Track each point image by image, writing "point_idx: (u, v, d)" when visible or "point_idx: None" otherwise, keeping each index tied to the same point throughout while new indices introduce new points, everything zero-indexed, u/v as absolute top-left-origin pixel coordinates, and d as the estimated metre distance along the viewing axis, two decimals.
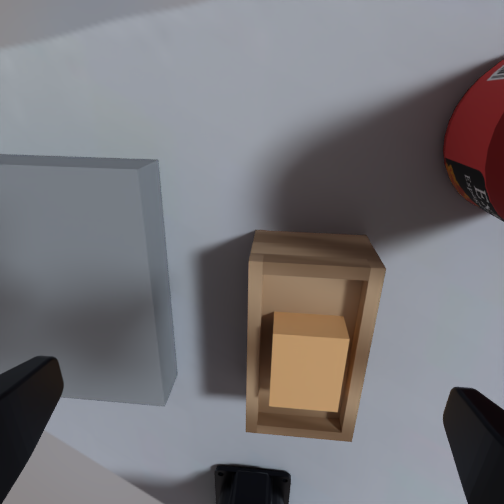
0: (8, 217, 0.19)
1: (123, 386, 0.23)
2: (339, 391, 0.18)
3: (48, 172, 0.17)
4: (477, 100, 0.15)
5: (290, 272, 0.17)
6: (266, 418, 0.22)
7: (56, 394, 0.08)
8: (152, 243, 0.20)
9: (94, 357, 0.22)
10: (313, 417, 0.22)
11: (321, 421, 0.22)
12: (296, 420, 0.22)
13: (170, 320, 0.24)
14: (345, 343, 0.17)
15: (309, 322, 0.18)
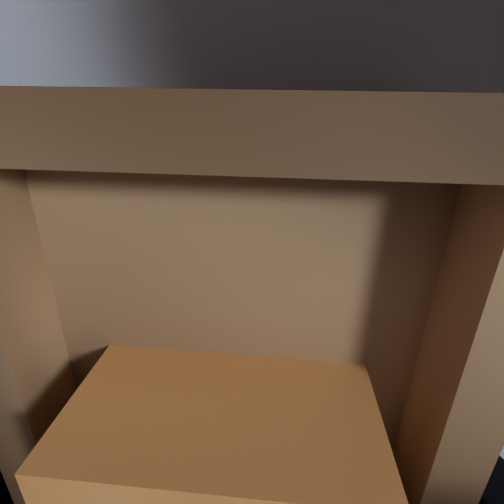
0: None
1: None
2: None
3: None
4: None
5: (81, 148, 0.03)
6: None
7: None
8: None
9: None
10: None
11: None
12: None
13: None
14: None
15: (224, 396, 0.04)
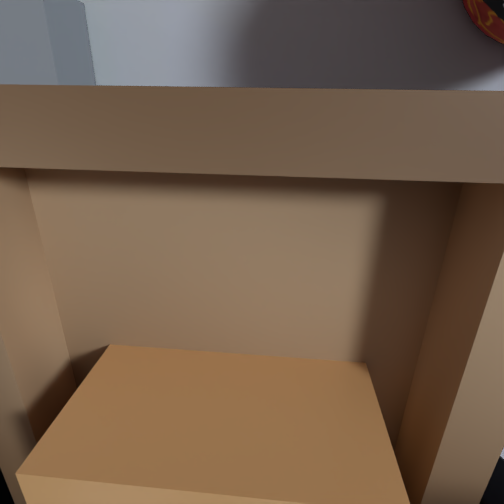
0: None
1: None
2: None
3: None
4: None
5: (82, 146, 0.03)
6: None
7: None
8: None
9: None
10: None
11: None
12: None
13: None
14: None
15: (225, 395, 0.04)
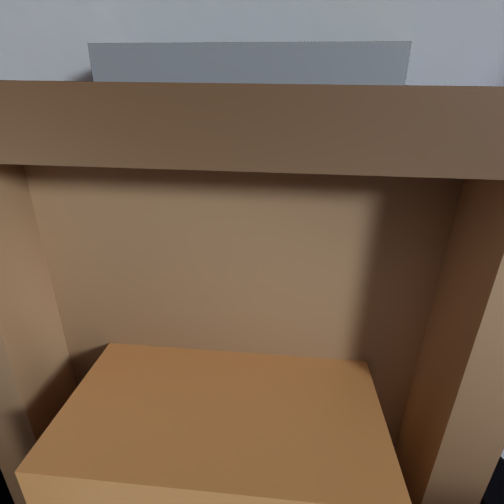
0: None
1: None
2: None
3: (278, 51, 0.13)
4: None
5: (82, 143, 0.03)
6: None
7: None
8: None
9: None
10: None
11: None
12: None
13: None
14: None
15: (225, 393, 0.04)
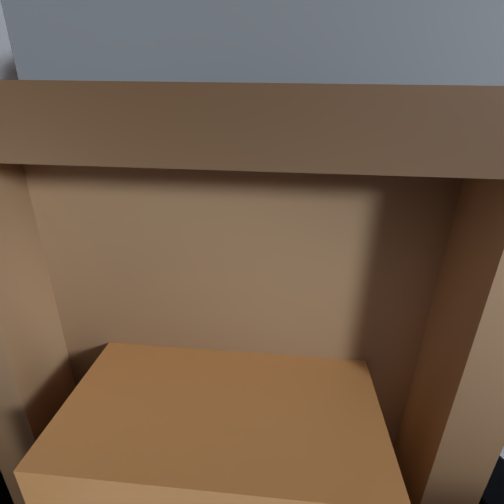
0: None
1: None
2: None
3: (322, 13, 0.07)
4: None
5: (80, 142, 0.03)
6: None
7: None
8: None
9: None
10: None
11: None
12: None
13: None
14: None
15: (224, 392, 0.04)
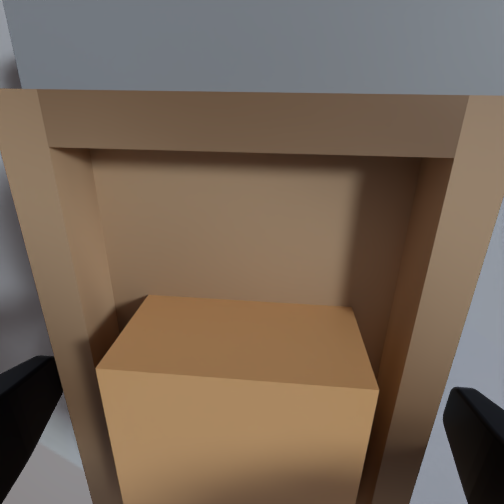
0: None
1: None
2: None
3: (322, 15, 0.07)
4: None
5: (148, 133, 0.04)
6: None
7: (56, 394, 0.08)
8: None
9: None
10: None
11: None
12: None
13: None
14: (363, 405, 0.05)
15: (242, 326, 0.06)
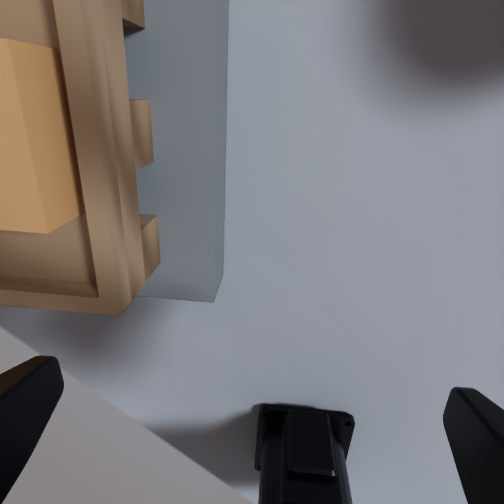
0: None
1: (158, 272, 0.17)
2: (34, 182, 0.10)
3: None
4: None
5: None
6: None
7: (56, 394, 0.08)
8: (219, 34, 0.13)
9: None
10: (68, 281, 0.13)
11: (77, 285, 0.13)
12: (37, 283, 0.13)
13: (223, 188, 0.18)
14: (2, 51, 0.08)
15: None
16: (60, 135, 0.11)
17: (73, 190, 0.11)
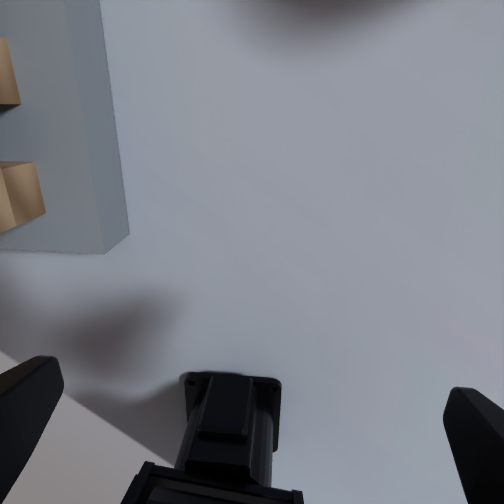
0: None
1: (45, 223, 0.17)
2: None
3: None
4: None
5: None
6: None
7: (56, 394, 0.08)
8: None
9: None
10: None
11: None
12: None
13: (113, 139, 0.17)
14: None
15: None
16: None
17: None
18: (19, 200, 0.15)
